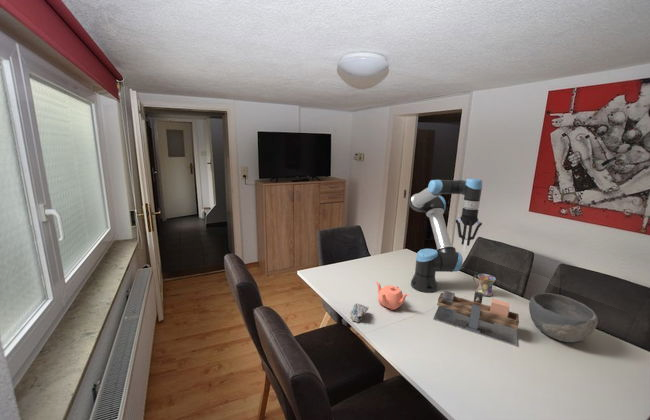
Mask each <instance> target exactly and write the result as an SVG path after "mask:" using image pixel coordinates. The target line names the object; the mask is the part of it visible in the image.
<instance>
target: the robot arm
mask: <svg viewBox="0 0 650 420" xmlns="http://www.w3.org/2000/svg"><path fill="white" fill-rule="evenodd" d="M427 186H428V187H426V188H424V189H423V190H422V191H420V192H418V193H414V194H413V195H412V196H411V197H410V198H409V200H408V202H409V203H408V204H409V206H410V207H409V208H411V209H412V210H414V211H415V212H419V213H425V215H426V217H427V218H428V219H429V222H430V226H431V230H432V234H433V237H434V241H435V244H436V249H433V248H423V249H422V248H421V249H420V250H419V251H417V253H416V257H415V270H414V275H413V276H412V278H411V281H410V287H411V288H413V289H414V290H416V291H417V292H418V291H419V292H422V293H430V294H431V293H434V292H436V291H437V289H438V285H437V280H436V272H437V273H439V272H440V273H441V272H442V273H443V272H446V273H447V272H448V273H449V272H450V273H453V272H458V271H460V270H461V268H462V267H463V256H462V254H461V252H459V251H457V250H456V247H455V246H453V245H452V241H451V238H450V236H449V232H448V228H447V225H446V221H445V218H444V214H445V211H446V208H447V203H446V200H445V198H444V197H443V196H442V194H443V195H462V196H464V197H463V203H462V207H463V208H462V210H461V216H460V217H459V218H456V219H455V222H456V225H457V226H456V228H457V233H458V234H457V235H458V238H460V239H461V245H462V252H465V253H466V252H467V247H468V246H470V244H471V241H473V240H475V237H476V235H477V234H478V230H479V229H480V227H482V225H483V222H481V221H479V208H480V203H481V202H480V201H481V196H482V189H483V180H482V179H480V178H472V177H471V178H467V179H466V180H464V179H456V180H455V179H454V180H453V179H452V180H450V179H431V180H430V181H429V183H428V185H427ZM461 222H462V224H463V231H462V226H461ZM475 224H476V227H475V229H474V232H473V234H472V231H473V226H474V225H475ZM467 227H468V233H467ZM466 235H467V238H466Z"/></svg>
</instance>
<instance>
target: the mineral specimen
mask: <svg viewBox="0 0 650 420" xmlns="http://www.w3.org/2000/svg"><path fill="white" fill-rule="evenodd" d="M368 310H369V306H365V305H364V304H361V303H354V305H353V306H352V310H351V311H350V315H351V316H350V318H351V321H352V322H353V323H360V322H361V321H362V319H363V317H364V314H366V313H367V312H368Z"/></svg>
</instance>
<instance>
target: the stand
mask: <svg viewBox="0 0 650 420" xmlns="http://www.w3.org/2000/svg"><path fill="white" fill-rule="evenodd" d="M477 297H479V298H480V303H481V304H483V297H484V295H483V293H482V292H478V291H477V290H475V291H474V296H473V301H474V302H475V299H476V298H477ZM480 310H481V306H479V305H475V304H472V309H471V315H470V317H468V316H465V315H461V314H458V313H457V311H454V310H451V309H448V308H444V307H441V306H438V307H437V309H436V311H435V313H434V316H433V318H432V319H433V320H434V321H437V322H440V323H442V324H446V325H450V326H452V327H455V328H459V329H461V330H465V331H468V332H471V333H474V334H476V335H480V336H484V337H486V338H489V339H493V340H495V341H499V342H502V343H506V344H508V345H511V346H515V347H518V334H517V333H518V330H517V329H513V328H510V327H507V326H503V325H500V324H497V323H494V324H491V323H487V322H484V321H481V320H479V316H480Z"/></svg>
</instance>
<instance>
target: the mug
mask: <svg viewBox="0 0 650 420" xmlns="http://www.w3.org/2000/svg"><path fill="white" fill-rule="evenodd" d="M475 277H477V279H478V282H479V283H478V282H477V281H476V280H475ZM472 278H473V281H474V283H475V284H476V285H477V289H476V291H478V292H482V293H483V297H491V296H493V285H494V283H495V282H496V281H497V278H496V277H495V276H493V275H491V274H488V273H478V275H474V276H473V277H472Z"/></svg>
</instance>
